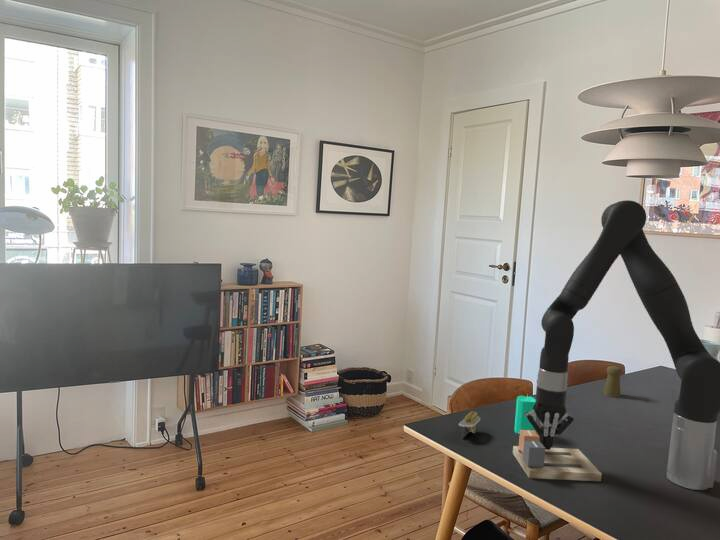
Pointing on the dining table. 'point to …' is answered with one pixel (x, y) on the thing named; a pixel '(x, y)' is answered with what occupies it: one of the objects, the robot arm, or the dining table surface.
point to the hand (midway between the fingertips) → (546, 448)
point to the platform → (469, 423)
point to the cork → (613, 382)
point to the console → (561, 465)
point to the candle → (523, 413)
